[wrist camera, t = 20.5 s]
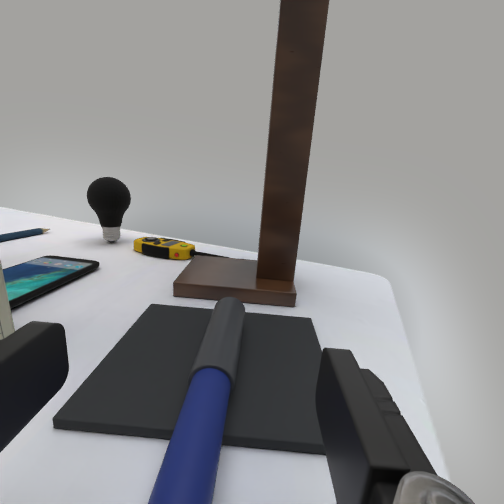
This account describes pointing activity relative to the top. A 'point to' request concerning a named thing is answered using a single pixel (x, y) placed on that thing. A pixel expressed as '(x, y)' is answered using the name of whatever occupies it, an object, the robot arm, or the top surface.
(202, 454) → the marker
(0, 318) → the cosmetic box
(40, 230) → the pencil
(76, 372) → the top surface
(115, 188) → the light bulb
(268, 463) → the top surface
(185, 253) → the yellow walkie talkie
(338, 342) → the top surface
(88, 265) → the smartphone
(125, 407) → the mat
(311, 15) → the wooden headphone stand
